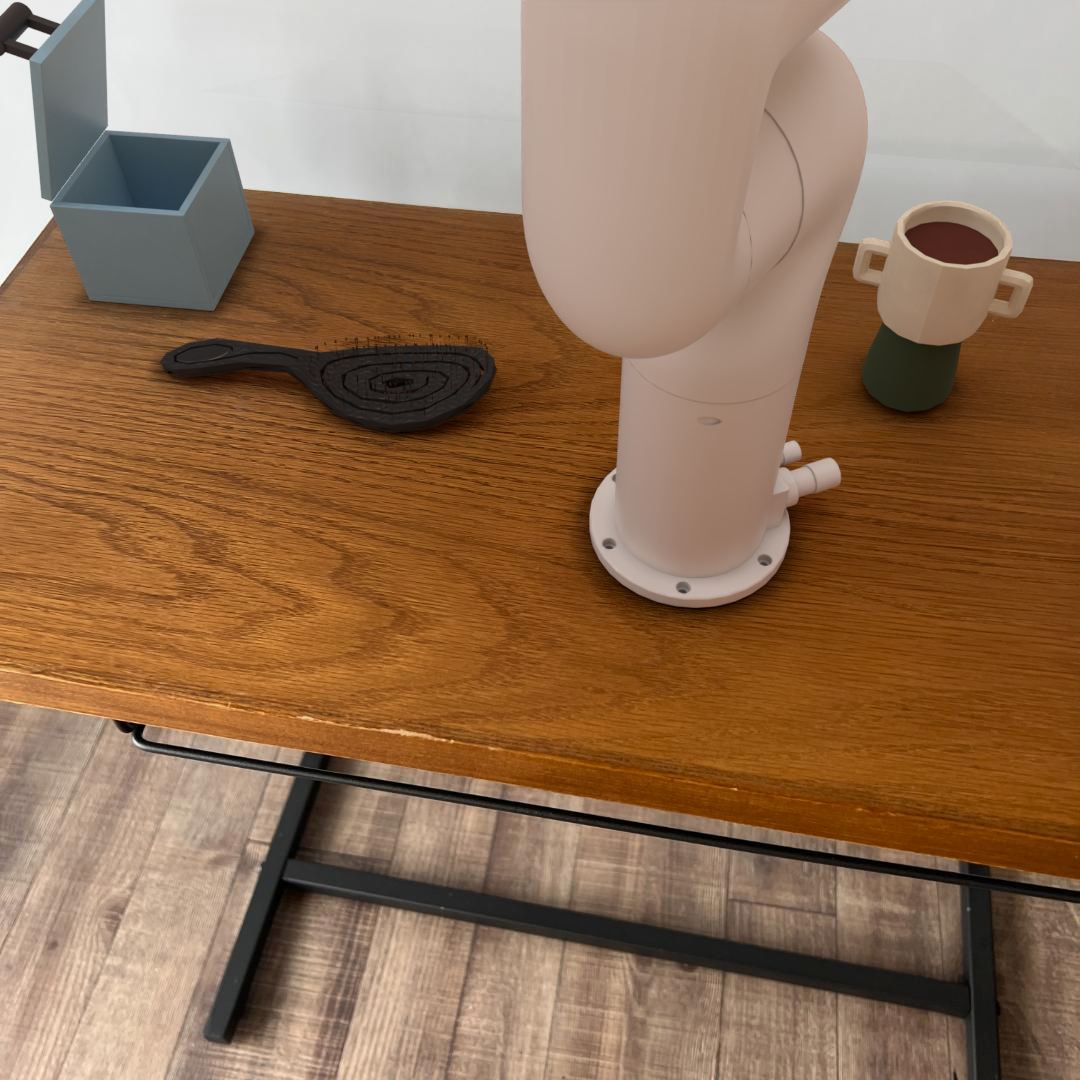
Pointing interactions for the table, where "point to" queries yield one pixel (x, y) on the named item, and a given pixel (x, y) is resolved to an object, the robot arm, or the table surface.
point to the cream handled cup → (934, 297)
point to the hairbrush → (359, 377)
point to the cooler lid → (63, 85)
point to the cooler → (155, 219)
